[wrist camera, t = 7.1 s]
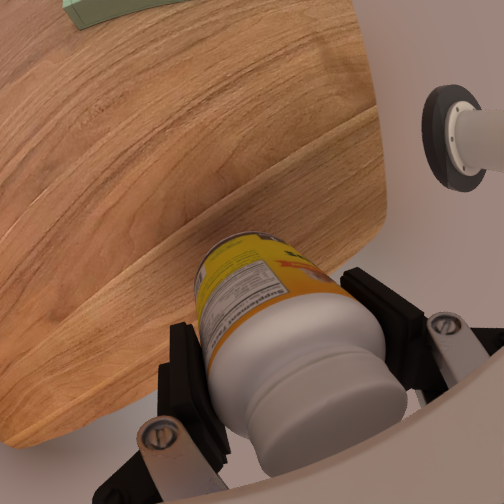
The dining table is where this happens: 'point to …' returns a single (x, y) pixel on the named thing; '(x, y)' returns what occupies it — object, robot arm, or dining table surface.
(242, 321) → the supplement bottle
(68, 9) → the bin
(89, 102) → the dining table surface
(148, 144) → the dining table surface
